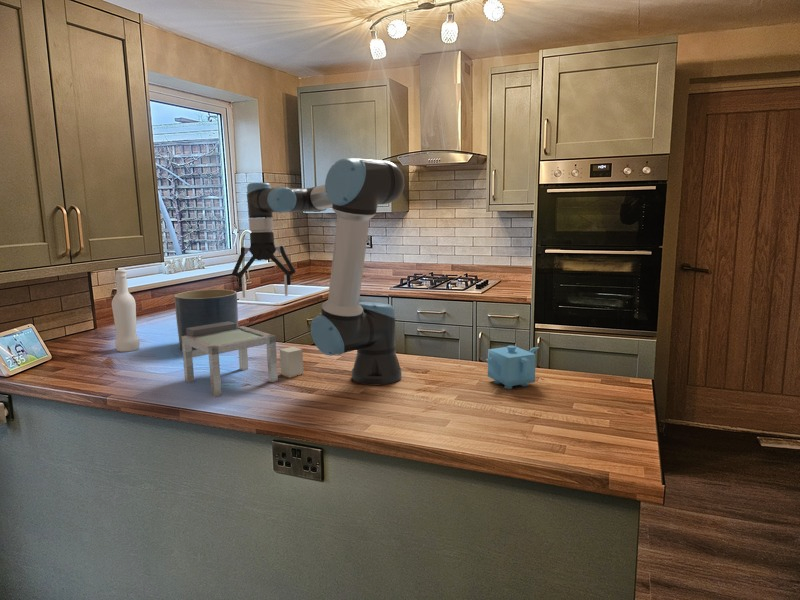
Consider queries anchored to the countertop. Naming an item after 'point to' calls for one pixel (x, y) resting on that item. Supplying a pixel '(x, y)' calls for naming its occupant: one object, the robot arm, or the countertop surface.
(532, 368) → the teapot
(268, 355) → the frame
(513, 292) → the countertop surface
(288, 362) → the cream rectangular block
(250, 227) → the robot arm
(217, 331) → the trapdoor
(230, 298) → the planter
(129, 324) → the bottle
